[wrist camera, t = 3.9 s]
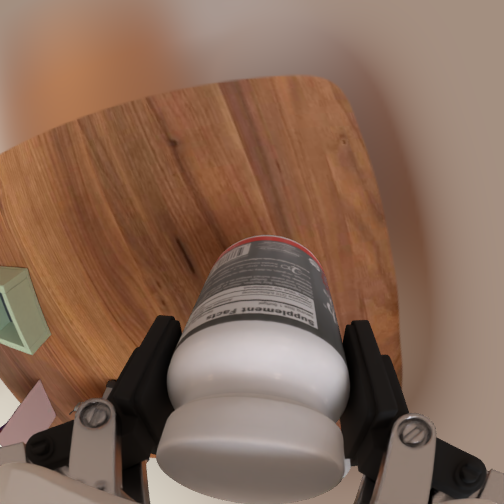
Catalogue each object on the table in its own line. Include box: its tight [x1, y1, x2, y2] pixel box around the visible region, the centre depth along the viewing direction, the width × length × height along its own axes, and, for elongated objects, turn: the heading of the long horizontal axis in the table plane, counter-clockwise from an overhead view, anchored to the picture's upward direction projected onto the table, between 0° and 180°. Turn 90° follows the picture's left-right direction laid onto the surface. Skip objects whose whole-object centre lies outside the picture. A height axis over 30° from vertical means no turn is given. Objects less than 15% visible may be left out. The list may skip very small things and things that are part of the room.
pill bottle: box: [156, 235, 350, 504], centre depth 10 cm, size 6×6×10 cm
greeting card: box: [0, 380, 56, 447], centre depth 31 cm, size 11×7×15 cm, turn 133°
